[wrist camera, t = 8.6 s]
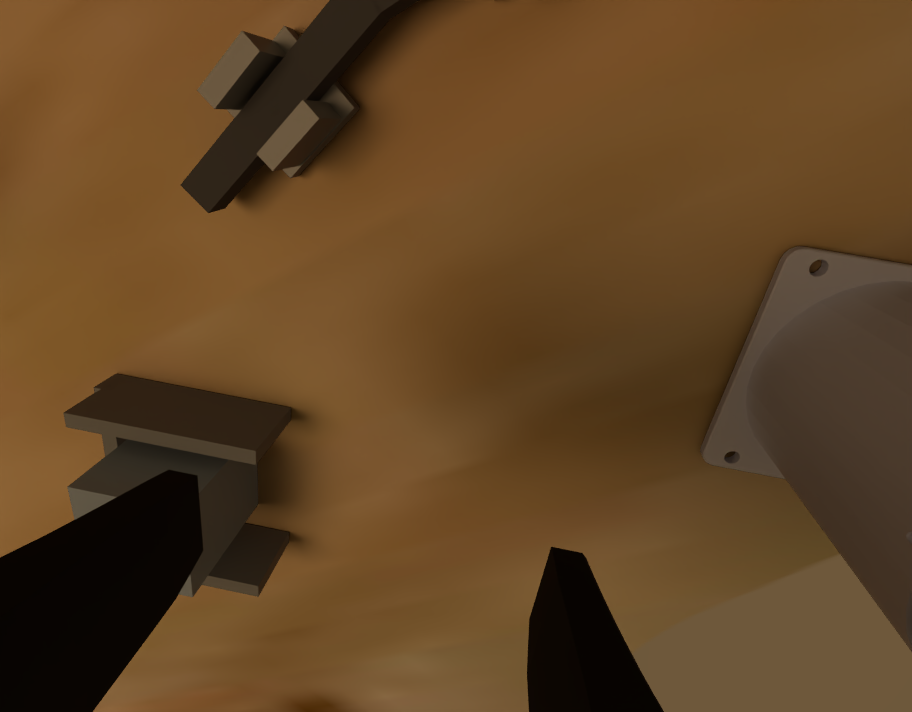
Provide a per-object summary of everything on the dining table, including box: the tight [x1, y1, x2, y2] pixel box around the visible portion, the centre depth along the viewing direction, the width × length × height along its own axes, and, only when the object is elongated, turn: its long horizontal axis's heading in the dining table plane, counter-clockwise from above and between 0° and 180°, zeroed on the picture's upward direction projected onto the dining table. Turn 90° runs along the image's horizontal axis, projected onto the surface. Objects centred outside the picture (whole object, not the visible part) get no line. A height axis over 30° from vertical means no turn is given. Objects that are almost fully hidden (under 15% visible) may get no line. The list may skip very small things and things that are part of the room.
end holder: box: [64, 374, 291, 597], centre depth 21 cm, size 7×7×3 cm
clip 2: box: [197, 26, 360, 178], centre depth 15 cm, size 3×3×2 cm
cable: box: [181, 0, 419, 213], centre depth 14 cm, size 16×2×1 cm, turn 124°
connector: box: [68, 439, 258, 597], centre depth 20 cm, size 4×4×6 cm
